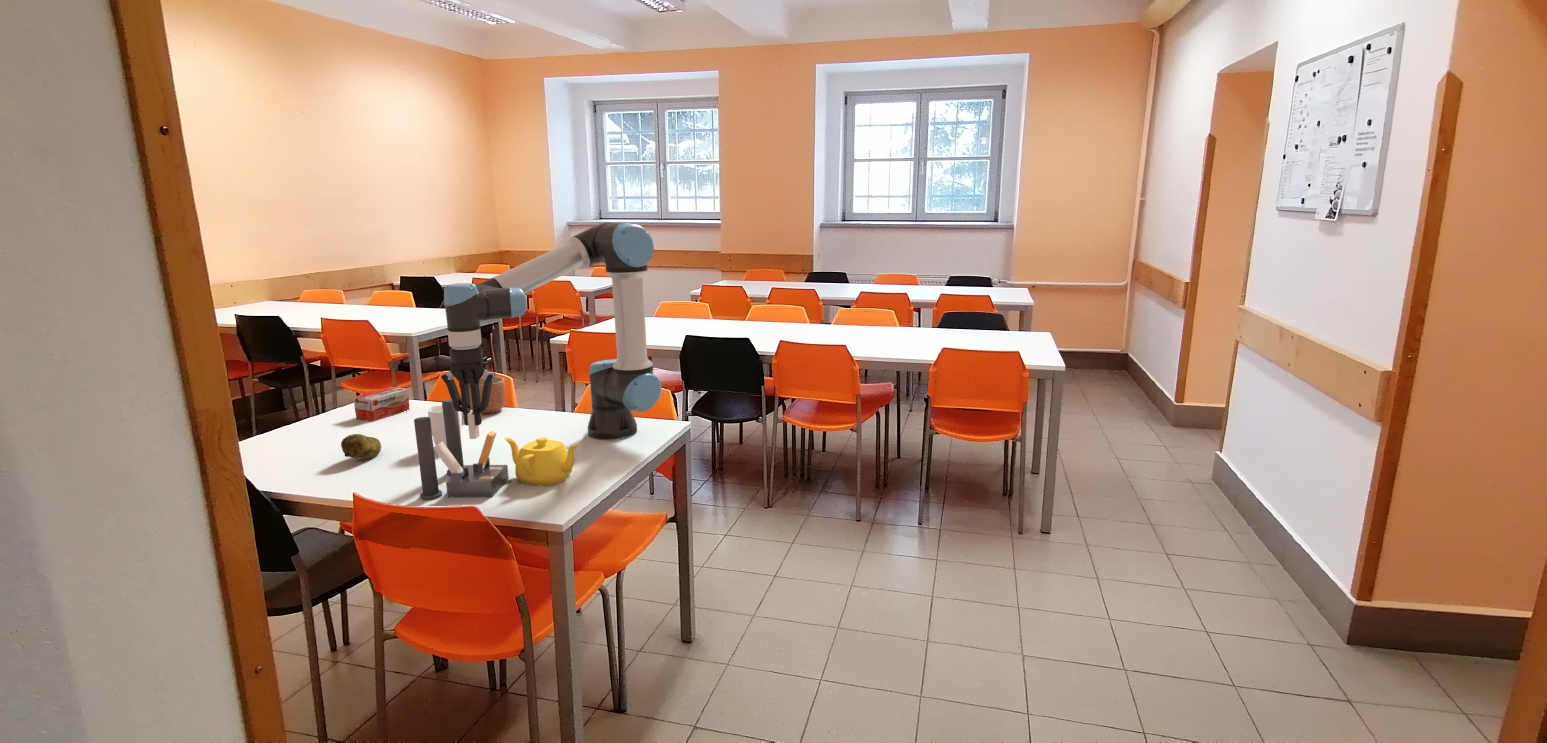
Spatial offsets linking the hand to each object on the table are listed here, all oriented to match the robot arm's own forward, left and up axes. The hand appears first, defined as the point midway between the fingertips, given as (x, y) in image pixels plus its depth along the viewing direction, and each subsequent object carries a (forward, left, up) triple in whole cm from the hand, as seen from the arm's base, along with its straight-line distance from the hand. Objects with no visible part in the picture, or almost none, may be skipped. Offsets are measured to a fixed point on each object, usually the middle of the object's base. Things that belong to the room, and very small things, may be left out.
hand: (474, 437), depth 192 cm
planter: (+22, -67, -13) cm, 72 cm away
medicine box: (+57, -65, -13) cm, 87 cm away
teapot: (-15, -3, -13) cm, 20 cm away
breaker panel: (-1, +3, -13) cm, 13 cm away
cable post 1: (+9, +8, -13) cm, 17 cm away
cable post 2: (+9, -8, -13) cm, 18 cm away
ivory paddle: (+2, +6, -8) cm, 10 cm away
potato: (+40, -20, -13) cm, 47 cm away
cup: (+20, -29, -13) cm, 38 cm away
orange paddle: (-1, 0, -8) cm, 8 cm away
